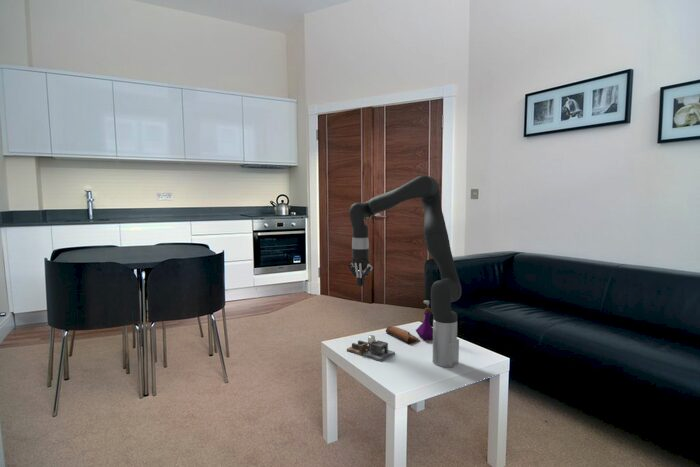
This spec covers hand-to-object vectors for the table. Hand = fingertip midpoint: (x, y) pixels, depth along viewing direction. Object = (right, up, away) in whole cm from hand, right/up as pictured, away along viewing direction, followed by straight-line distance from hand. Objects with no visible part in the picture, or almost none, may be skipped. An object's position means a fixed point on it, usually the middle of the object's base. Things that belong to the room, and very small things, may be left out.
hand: (360, 285), depth 177 cm
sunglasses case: (+20, -26, +8) cm, 34 cm away
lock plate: (+4, -27, -11) cm, 29 cm away
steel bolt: (+6, -26, -12) cm, 29 cm away
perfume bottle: (+31, -26, +6) cm, 40 cm away
